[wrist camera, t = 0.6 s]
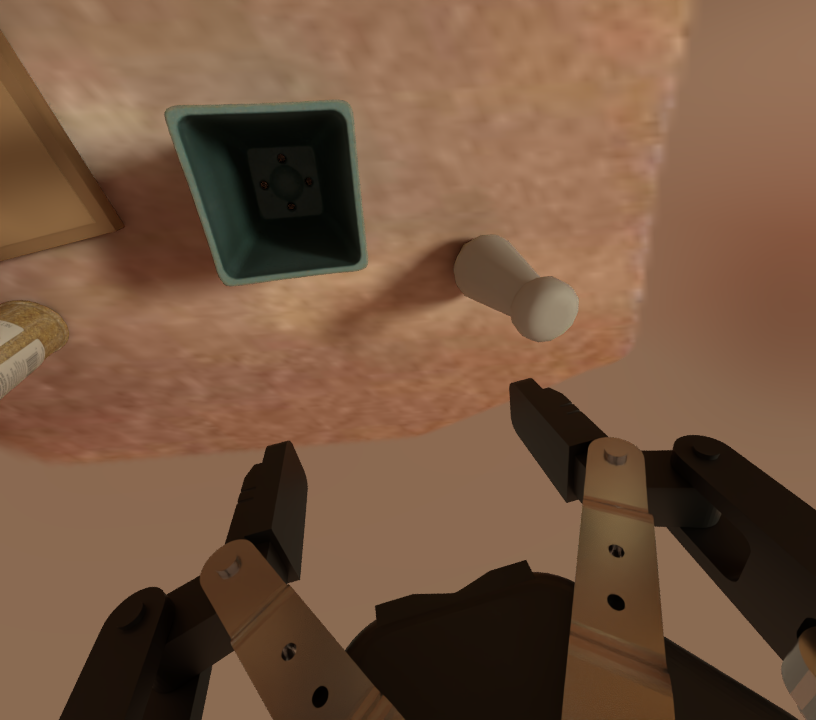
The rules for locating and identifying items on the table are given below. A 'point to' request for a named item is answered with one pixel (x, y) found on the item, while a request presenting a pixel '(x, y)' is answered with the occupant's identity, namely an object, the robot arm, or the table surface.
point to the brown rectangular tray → (41, 172)
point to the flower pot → (274, 187)
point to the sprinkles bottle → (27, 340)
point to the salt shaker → (515, 288)
